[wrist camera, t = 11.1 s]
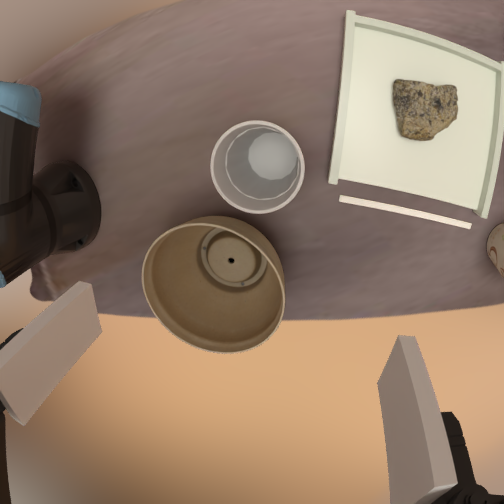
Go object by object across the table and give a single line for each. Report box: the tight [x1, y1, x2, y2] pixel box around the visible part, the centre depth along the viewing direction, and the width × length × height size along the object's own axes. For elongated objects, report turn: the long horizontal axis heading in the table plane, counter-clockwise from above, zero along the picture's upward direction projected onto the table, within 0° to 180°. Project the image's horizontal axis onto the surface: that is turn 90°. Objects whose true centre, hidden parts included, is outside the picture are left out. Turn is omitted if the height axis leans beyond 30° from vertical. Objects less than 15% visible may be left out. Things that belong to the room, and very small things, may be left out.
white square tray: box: [328, 10, 504, 219], centre depth 29 cm, size 22×21×2 cm
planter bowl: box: [142, 216, 285, 354], centre depth 37 cm, size 16×16×11 cm
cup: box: [210, 120, 305, 214], centre depth 31 cm, size 8×8×12 cm
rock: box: [393, 79, 458, 141], centre depth 27 cm, size 7×8×4 cm
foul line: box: [339, 195, 471, 229], centre depth 35 cm, size 19×1×1 cm, turn 85°
